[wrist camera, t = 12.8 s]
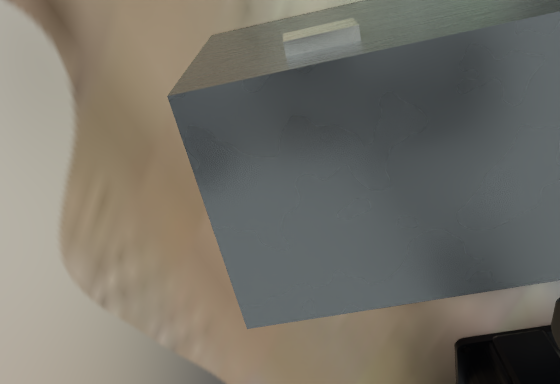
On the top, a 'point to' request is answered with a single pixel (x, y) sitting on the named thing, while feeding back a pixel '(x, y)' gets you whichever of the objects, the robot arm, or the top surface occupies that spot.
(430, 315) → the top surface
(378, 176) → the slate unit
